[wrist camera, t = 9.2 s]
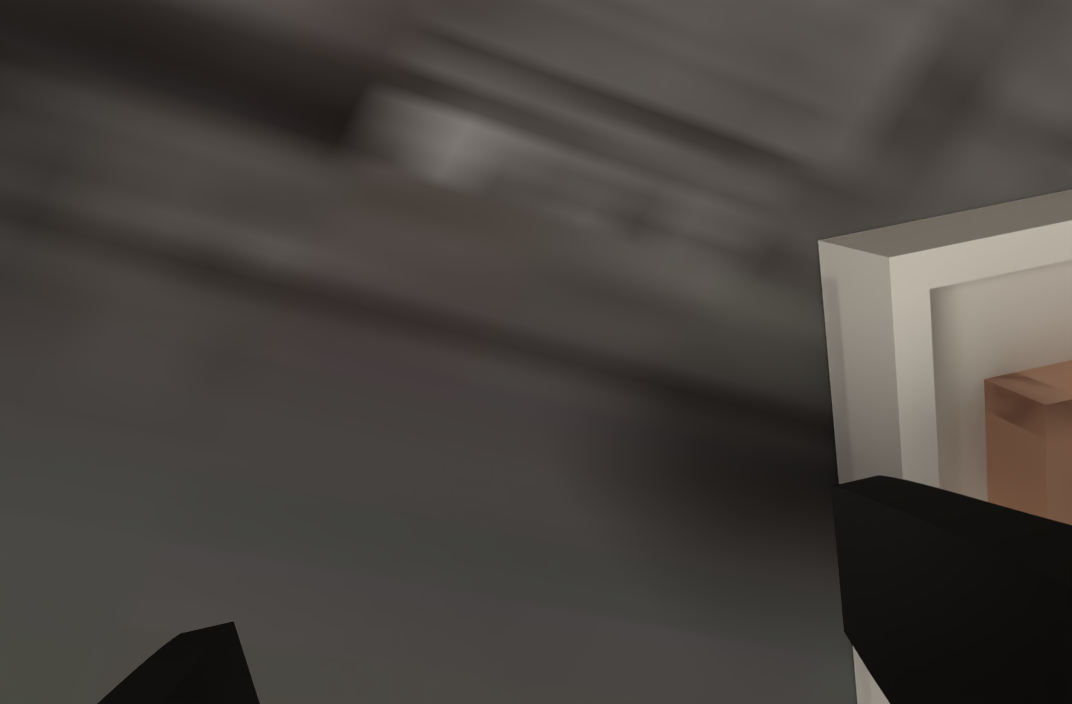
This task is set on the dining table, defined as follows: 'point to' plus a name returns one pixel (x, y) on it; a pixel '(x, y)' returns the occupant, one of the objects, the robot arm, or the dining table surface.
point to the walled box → (956, 357)
